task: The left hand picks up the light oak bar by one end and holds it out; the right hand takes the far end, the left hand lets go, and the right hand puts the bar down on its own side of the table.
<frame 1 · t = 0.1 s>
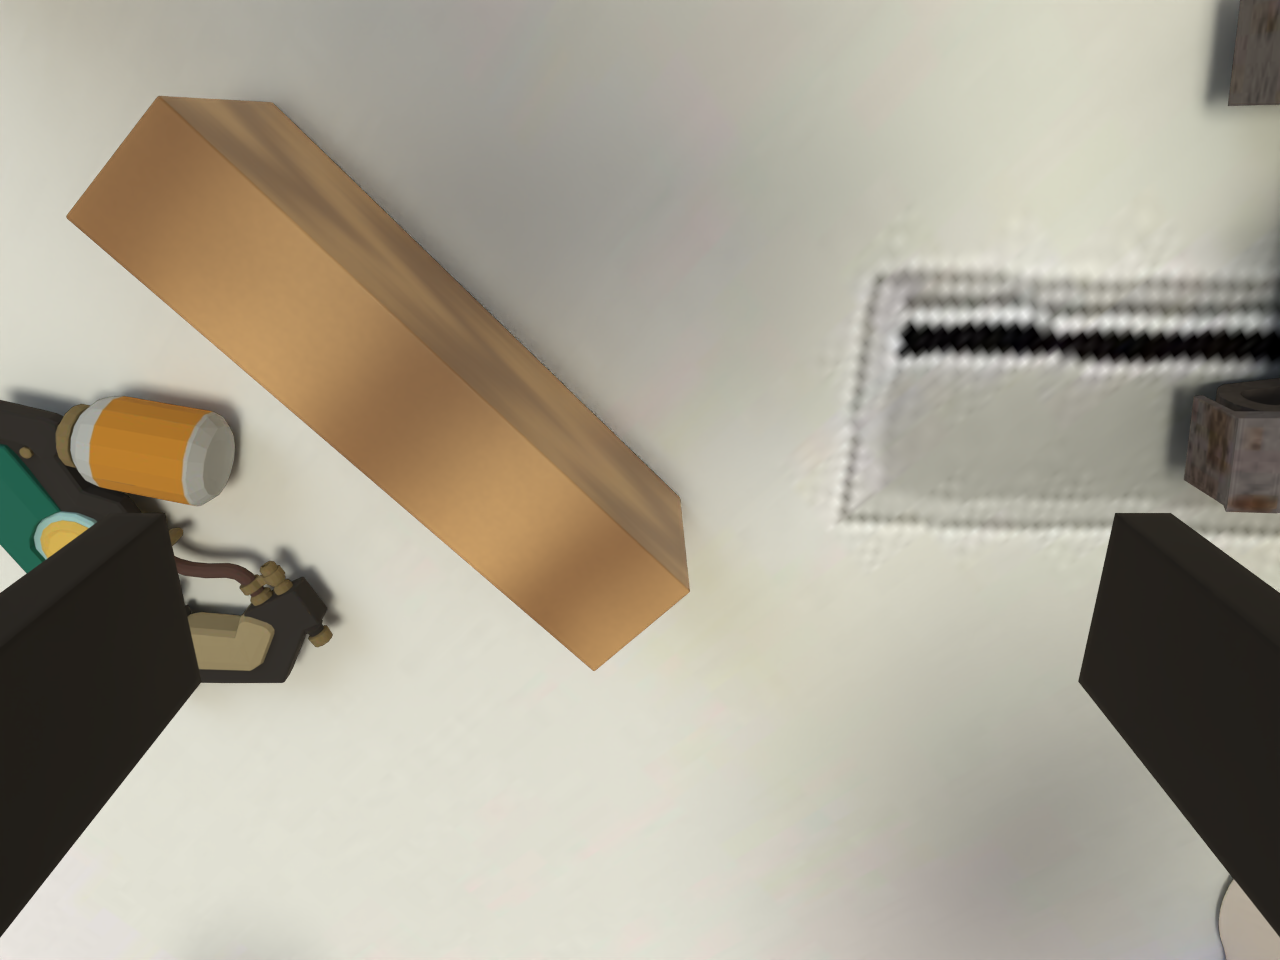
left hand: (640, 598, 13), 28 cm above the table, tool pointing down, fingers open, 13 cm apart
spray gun: (158, 536, 43), on the table
bar: (453, 356, 40), on the table
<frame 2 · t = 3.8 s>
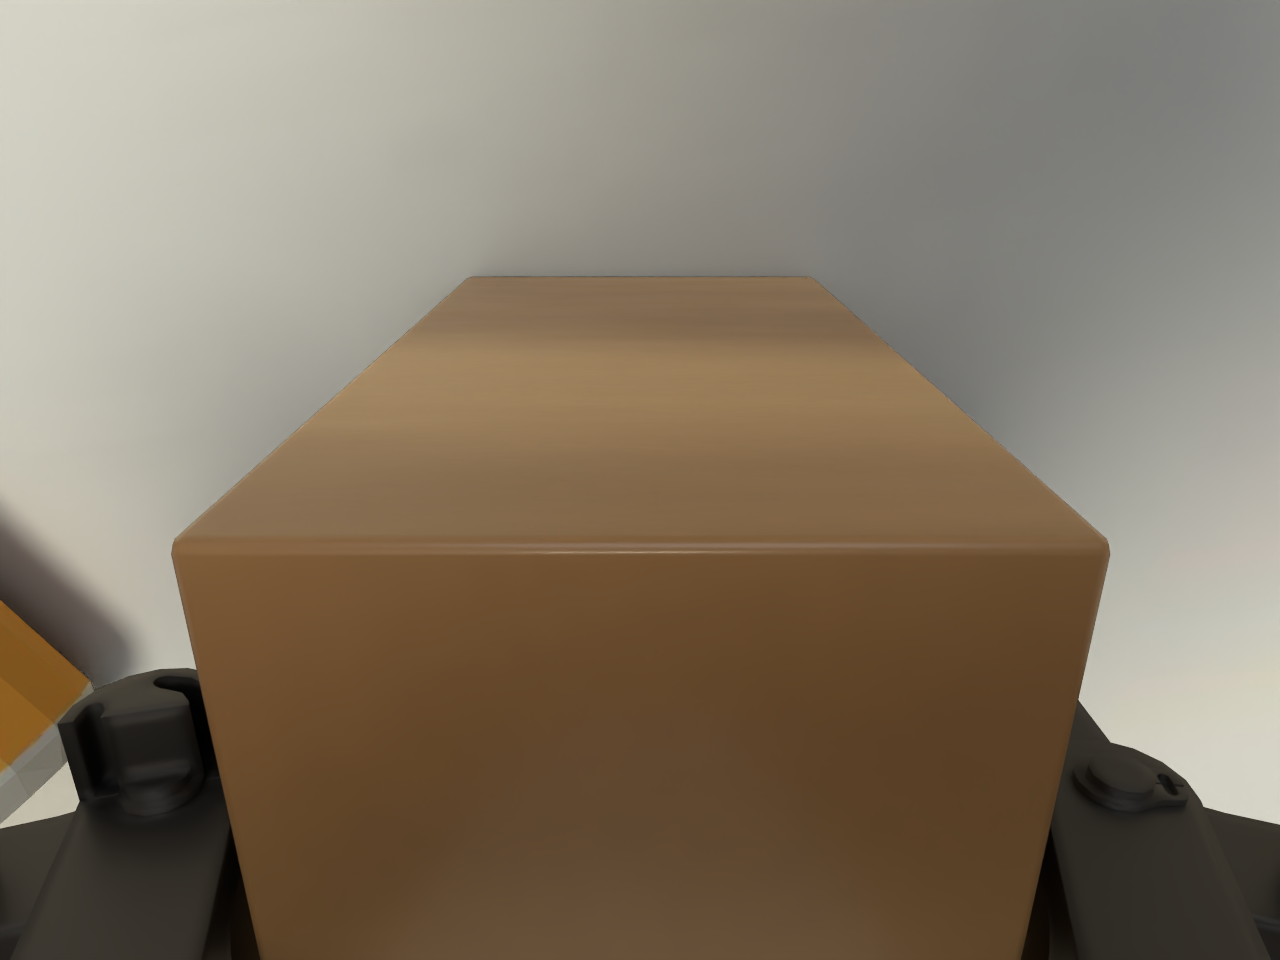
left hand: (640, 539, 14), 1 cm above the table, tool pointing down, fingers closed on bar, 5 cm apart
bar: (640, 885, 18), on the table, touching left hand
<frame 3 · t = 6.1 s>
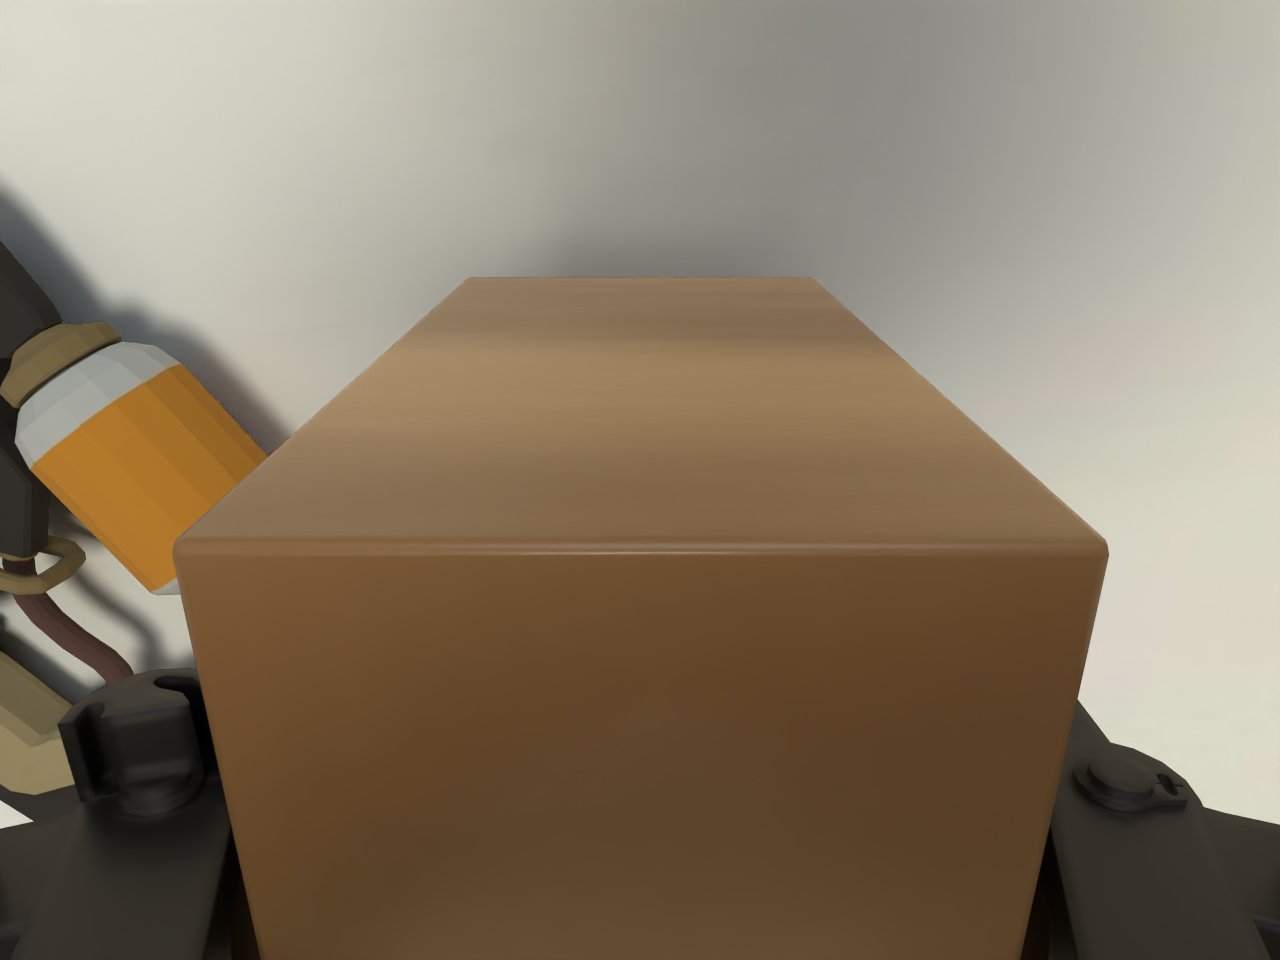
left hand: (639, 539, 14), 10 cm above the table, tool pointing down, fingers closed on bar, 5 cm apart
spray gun: (32, 518, 25), on the table
bar: (640, 885, 18), point 9 cm above the table, touching left hand
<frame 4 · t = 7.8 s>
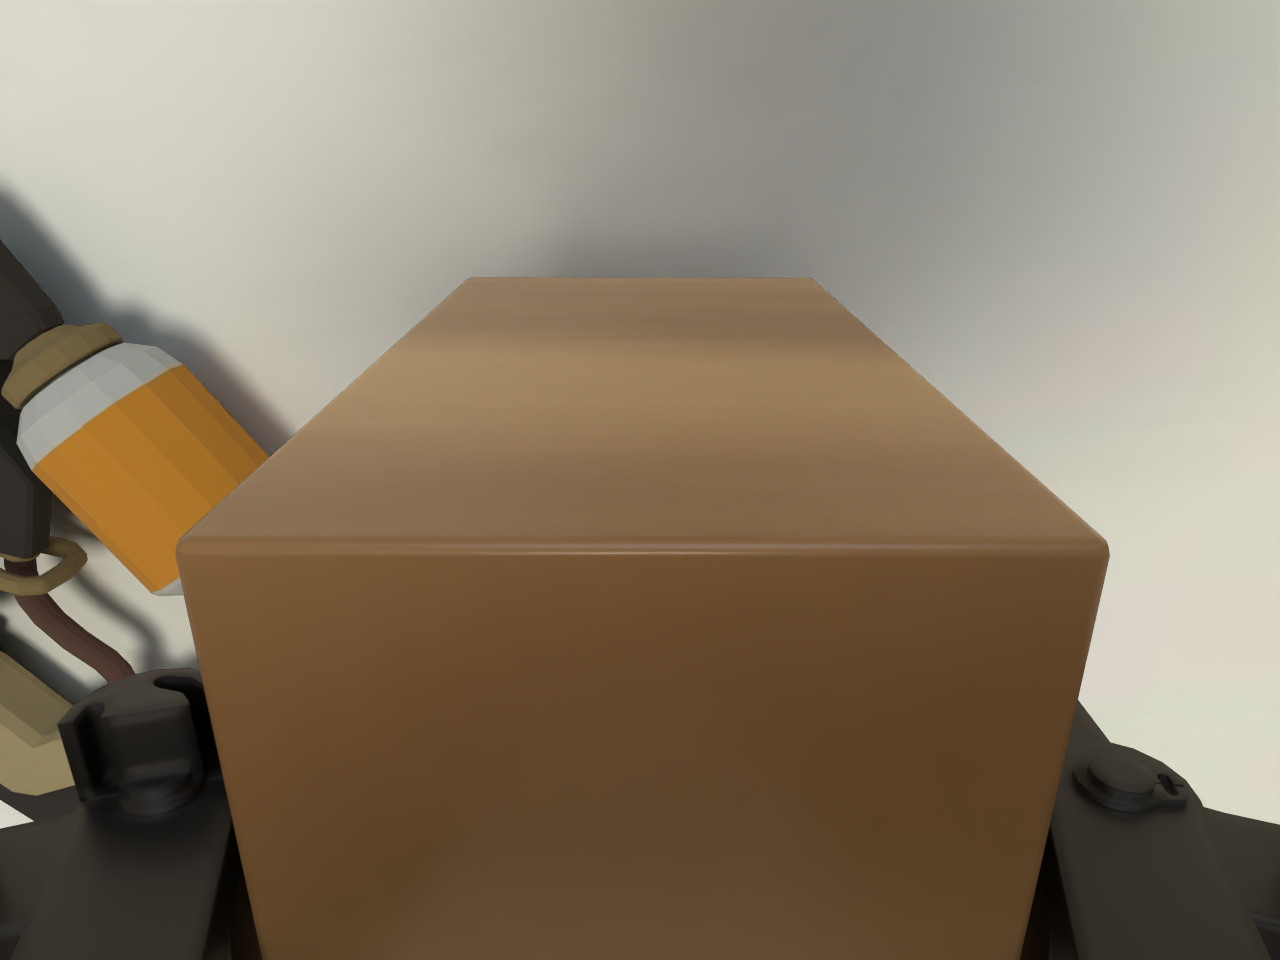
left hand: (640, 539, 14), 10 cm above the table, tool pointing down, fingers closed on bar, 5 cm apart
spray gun: (34, 518, 25), on the table
bar: (639, 885, 18), point 9 cm above the table, touching left hand, right hand
when the left hand's fingers open (10 cm above the table, at t = 8.8 s): bar stays where it is, held by the right hand.
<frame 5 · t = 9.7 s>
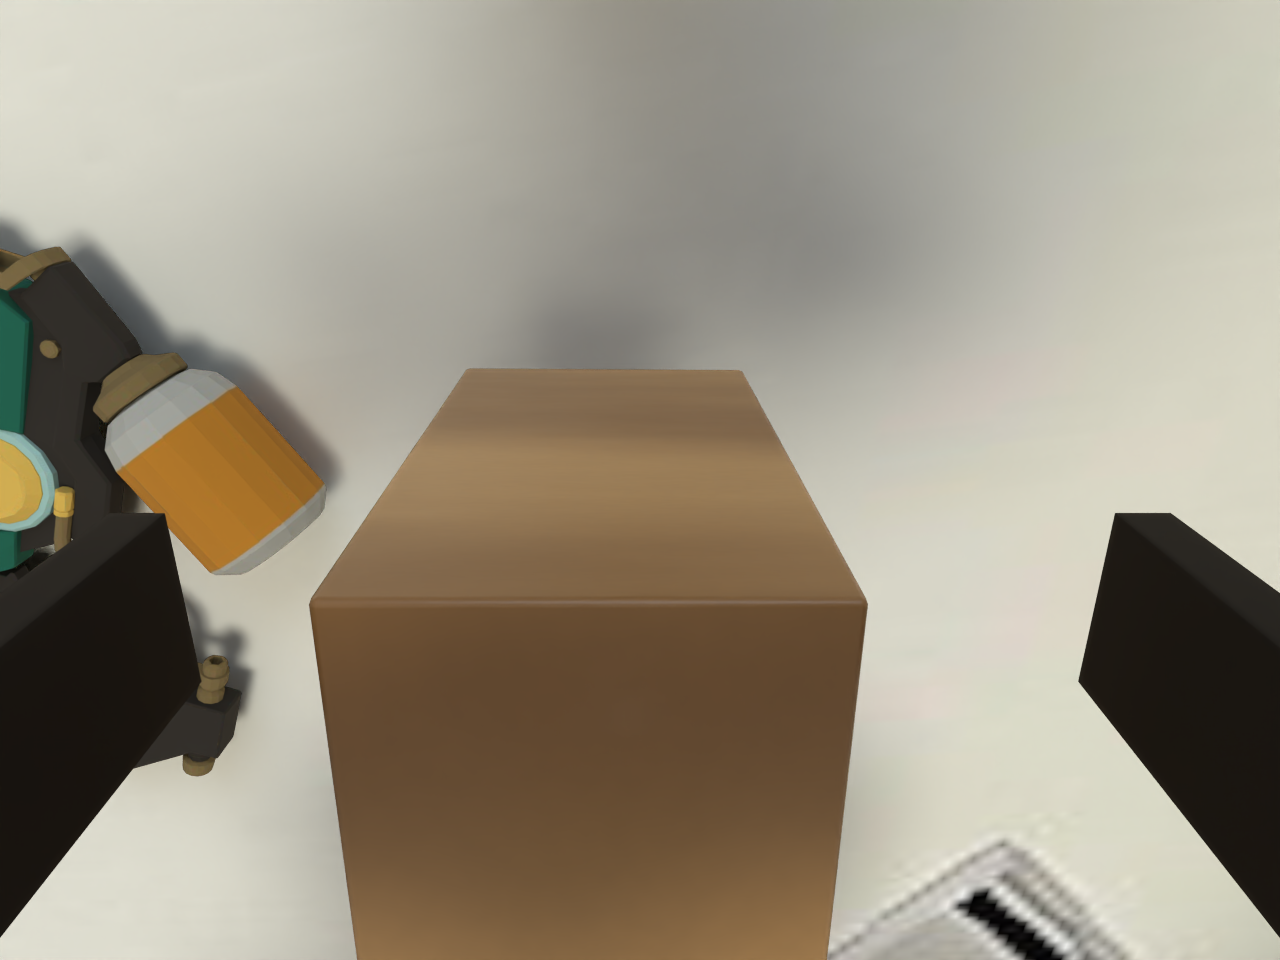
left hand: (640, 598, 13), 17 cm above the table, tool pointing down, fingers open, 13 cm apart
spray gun: (101, 513, 30), on the table
bar: (606, 867, 21), point 11 cm above the table, touching right hand
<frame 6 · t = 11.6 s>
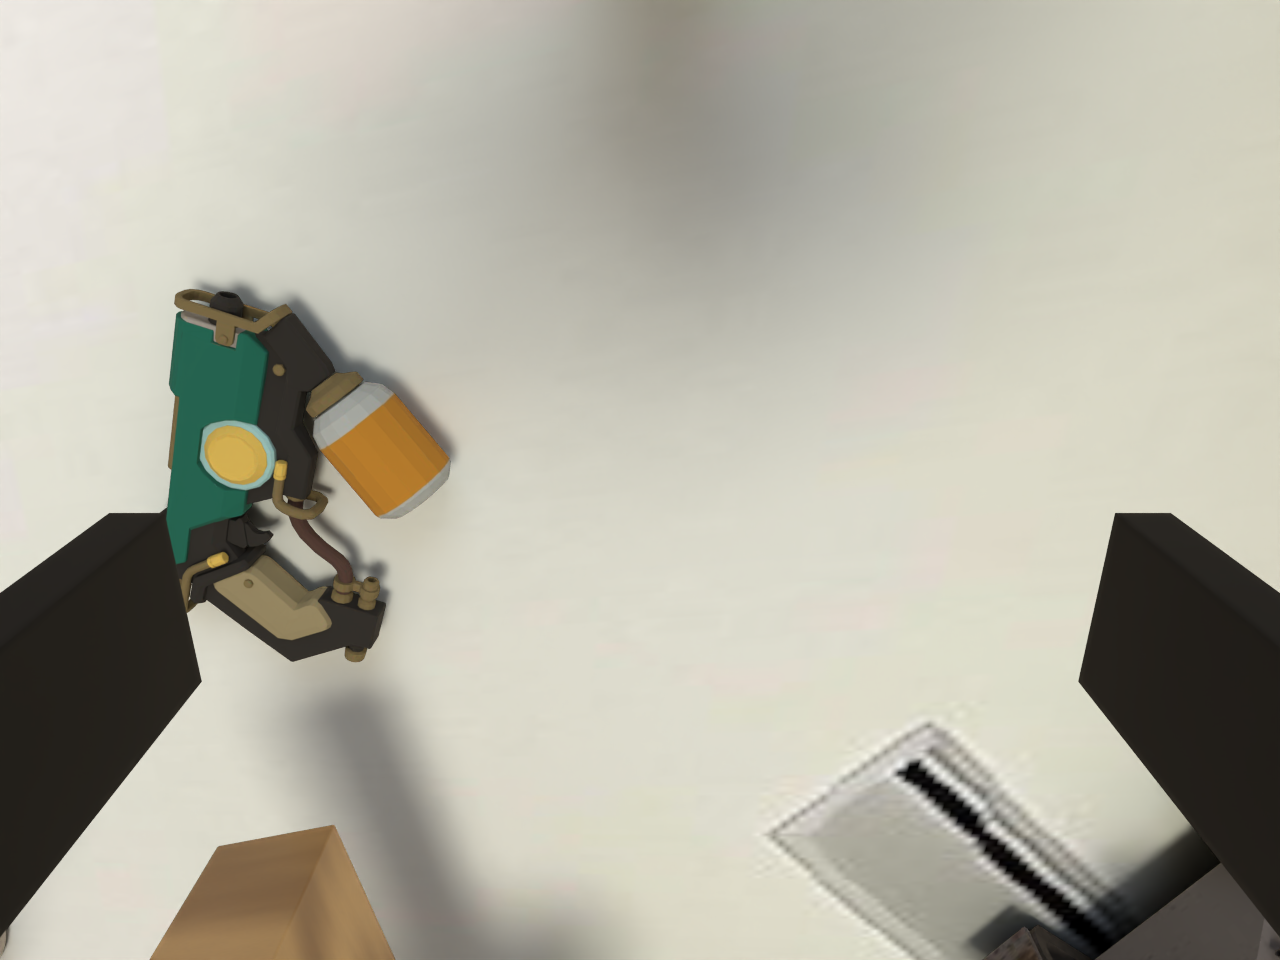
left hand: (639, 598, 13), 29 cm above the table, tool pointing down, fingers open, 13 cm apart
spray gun: (293, 479, 43), on the table
toy: (1224, 936, 55), on the table
when the right hand's fingers open (4 cm above the table, at t = 15.5 s): bar stays where it is, on the table.
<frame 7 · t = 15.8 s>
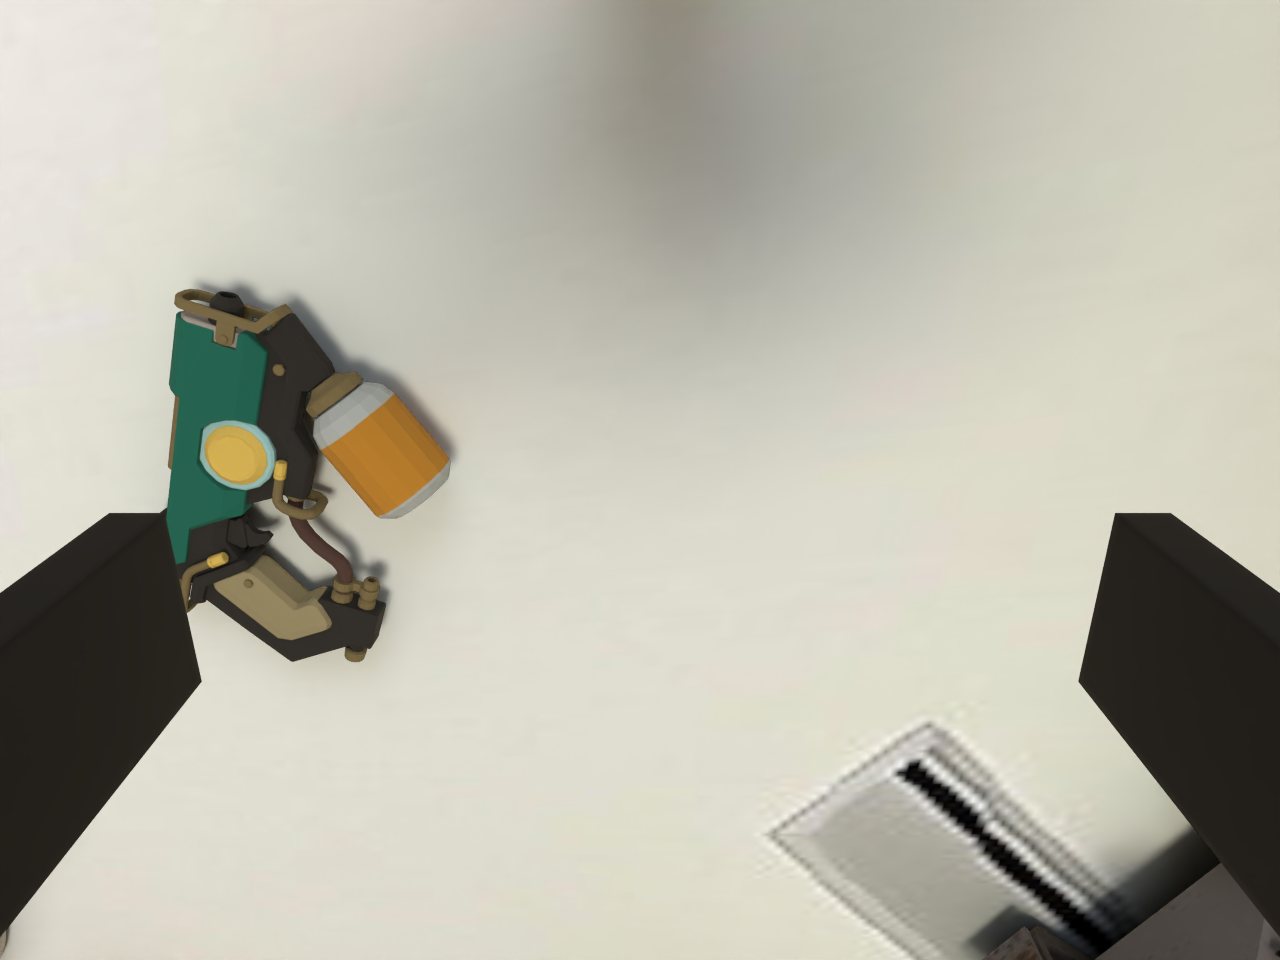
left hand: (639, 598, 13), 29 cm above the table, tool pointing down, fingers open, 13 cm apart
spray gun: (293, 479, 43), on the table
toy: (1224, 936, 55), on the table
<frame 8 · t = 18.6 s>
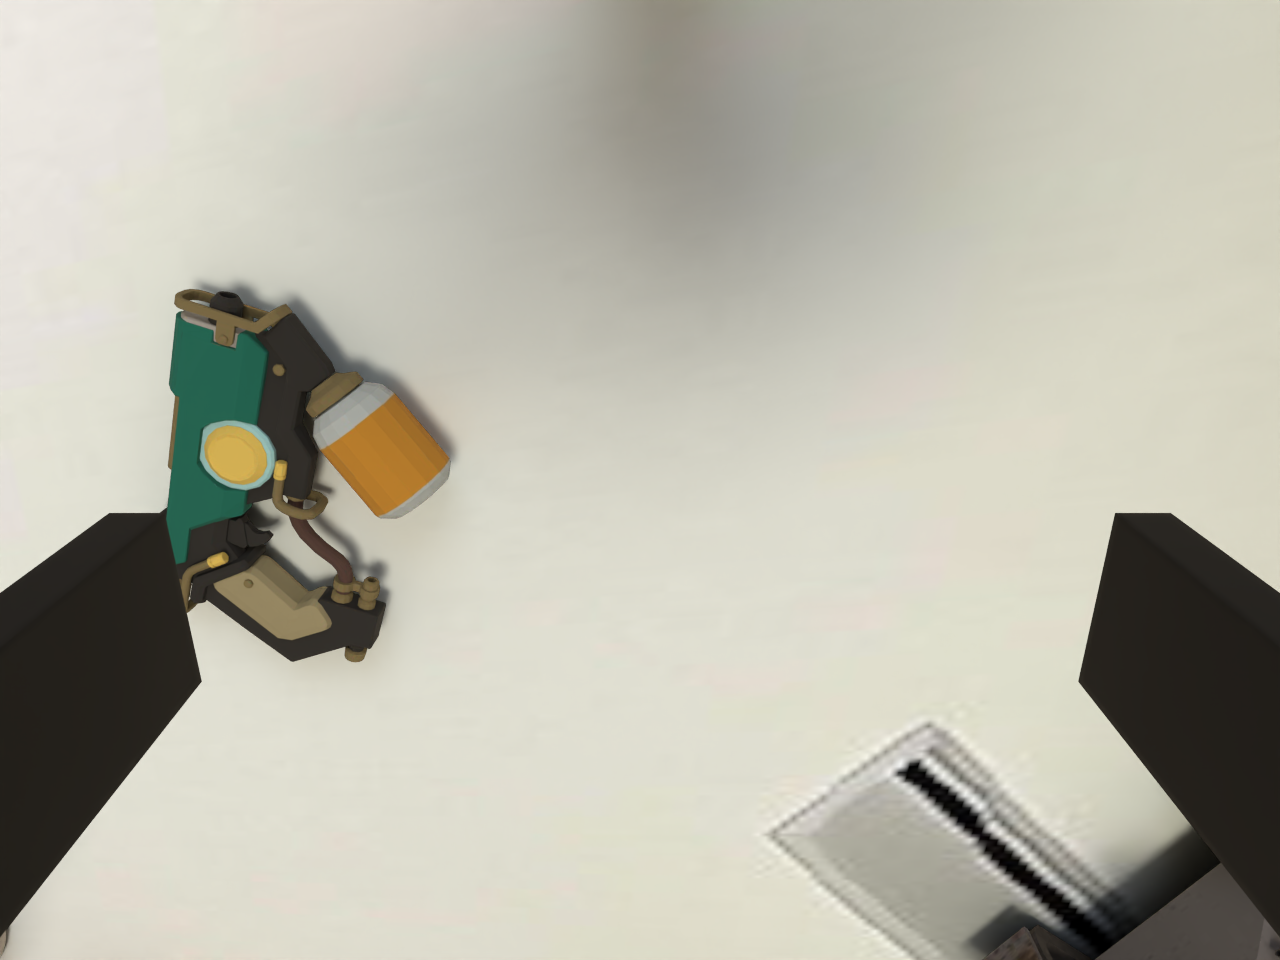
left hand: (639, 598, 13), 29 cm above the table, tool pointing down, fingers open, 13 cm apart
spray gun: (293, 479, 43), on the table
toy: (1224, 936, 55), on the table
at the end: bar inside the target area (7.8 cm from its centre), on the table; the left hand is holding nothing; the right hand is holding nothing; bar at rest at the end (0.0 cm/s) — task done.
